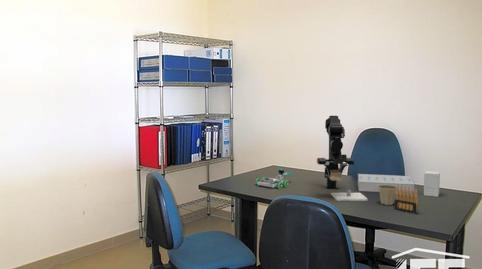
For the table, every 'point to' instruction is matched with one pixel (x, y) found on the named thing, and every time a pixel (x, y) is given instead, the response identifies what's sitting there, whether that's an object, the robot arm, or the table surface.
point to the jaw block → (335, 175)
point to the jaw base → (349, 196)
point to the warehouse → (384, 182)
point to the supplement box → (431, 183)
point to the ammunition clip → (406, 200)
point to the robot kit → (274, 180)
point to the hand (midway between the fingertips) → (334, 177)
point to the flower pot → (387, 194)
